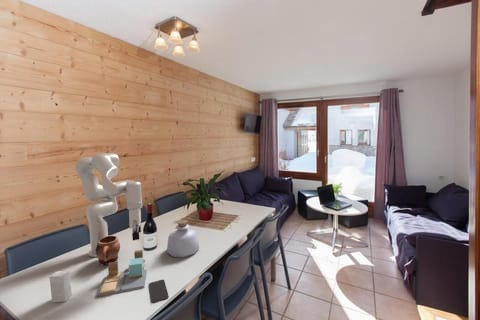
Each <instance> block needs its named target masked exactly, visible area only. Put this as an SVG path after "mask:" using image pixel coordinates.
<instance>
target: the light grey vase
mask: <svg viewBox="0 0 480 320" xmlns="http://www.w3.org/2000/svg"><path fill="white" fill-rule="evenodd" d="M176 222H177V225H176V227H175V229H176V230H175V231H172V232H170V233H169V235H168V238H167V245H166V246H167V247H166V252H167V254H168V255H170V256H172V257H173V258H187V257H189V256H193V255H194V254H196V252H197V251H198V250H199V249H200V243H199V238H198V234H197V232H196V231H195V230H194V229H190V225H189V223H188V220H187V219H179V220H177V221H176Z"/></svg>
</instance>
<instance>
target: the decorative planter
mask: <svg viewBox="0 0 480 320" xmlns="http://www.w3.org/2000/svg"><path fill="white" fill-rule="evenodd" d="M119 241H120V240H119V239H118V236H117V235H113V234H110V235H109V234H108V236H106V237H103V238H101V239H100V240H99V241H98V244H97V247H96V255H97V257H96V258H97V259H98V262H99V265H101V266H108V264H109V263H111V262H117V261H118V260H119V253H120V249H121V244H120V242H119Z"/></svg>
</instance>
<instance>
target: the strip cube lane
mask: <svg viewBox="0 0 480 320" xmlns="http://www.w3.org/2000/svg"><path fill="white" fill-rule="evenodd" d="M143 251H144V250H143V249H139V250H138V249H137V250H134V253H133V254H134V259H136V258H143V270H145V264H146V259H144V254H143V253H144V252H143ZM140 276H143V274H142V275H137V276H131V277H129V278H134V277H140Z"/></svg>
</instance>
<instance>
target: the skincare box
mask: <svg viewBox="0 0 480 320" xmlns="http://www.w3.org/2000/svg"><path fill="white" fill-rule="evenodd" d="M48 278H49V285H50V294H51V295H50V296H51V303H57V302H58V303H66V302H67V301H68V300H69V299H70V298H72V296H73V293H72V292H73V291H72V285H71V275H70V271H69V270H66V271H65V270H63V271H59V270H58V271H55V272H54V273H53V274H51V275H49V277H48Z"/></svg>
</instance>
